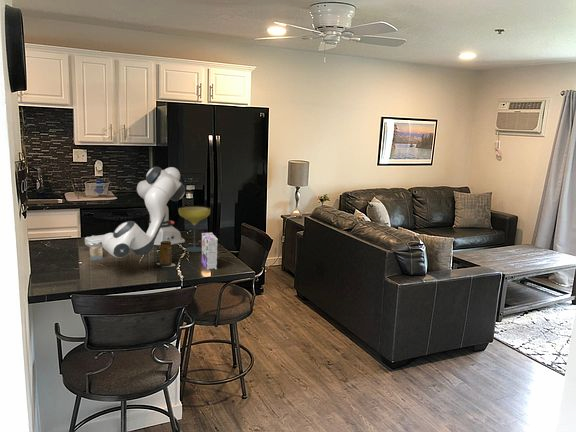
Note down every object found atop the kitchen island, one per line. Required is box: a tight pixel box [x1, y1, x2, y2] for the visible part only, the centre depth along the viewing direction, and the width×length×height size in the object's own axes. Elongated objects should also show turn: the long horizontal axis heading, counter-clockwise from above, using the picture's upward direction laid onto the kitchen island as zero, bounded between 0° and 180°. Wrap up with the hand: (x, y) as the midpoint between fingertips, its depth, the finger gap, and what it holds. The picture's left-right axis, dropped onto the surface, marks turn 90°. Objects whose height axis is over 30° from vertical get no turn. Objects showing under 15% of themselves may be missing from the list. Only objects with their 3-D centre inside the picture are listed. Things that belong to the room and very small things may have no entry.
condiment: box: [156, 241, 177, 268], centre depth 236 cm, size 7×8×12 cm
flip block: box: [89, 246, 104, 261], centre depth 241 cm, size 5×5×11 cm
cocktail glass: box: [178, 204, 211, 253], centre depth 266 cm, size 18×18×25 cm
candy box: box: [201, 232, 219, 271], centre depth 236 cm, size 14×6×16 cm, turn 21°
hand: (103, 235), depth 229 cm, fingers open, 8 cm apart
